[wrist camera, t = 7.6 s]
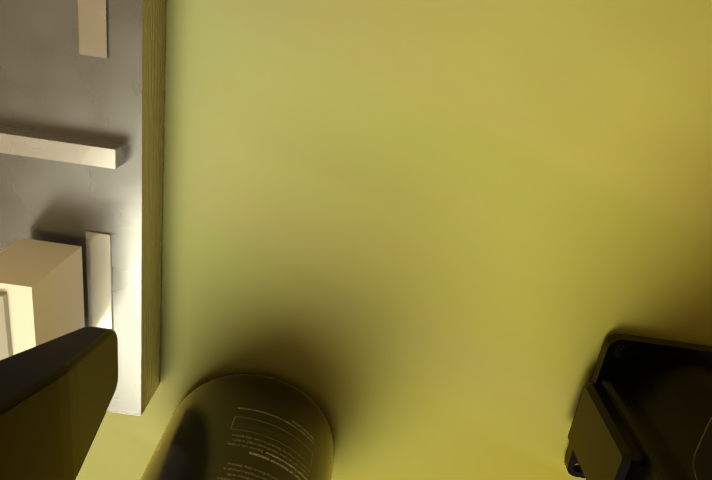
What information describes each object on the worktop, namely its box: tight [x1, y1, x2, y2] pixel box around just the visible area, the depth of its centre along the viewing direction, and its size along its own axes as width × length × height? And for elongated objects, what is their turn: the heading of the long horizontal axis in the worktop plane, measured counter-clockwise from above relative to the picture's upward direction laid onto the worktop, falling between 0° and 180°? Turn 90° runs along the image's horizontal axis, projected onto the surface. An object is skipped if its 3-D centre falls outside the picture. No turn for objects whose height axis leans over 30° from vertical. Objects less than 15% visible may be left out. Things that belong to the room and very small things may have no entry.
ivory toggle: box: [0, 238, 85, 360], centre depth 19 cm, size 2×4×3 cm, turn 172°
